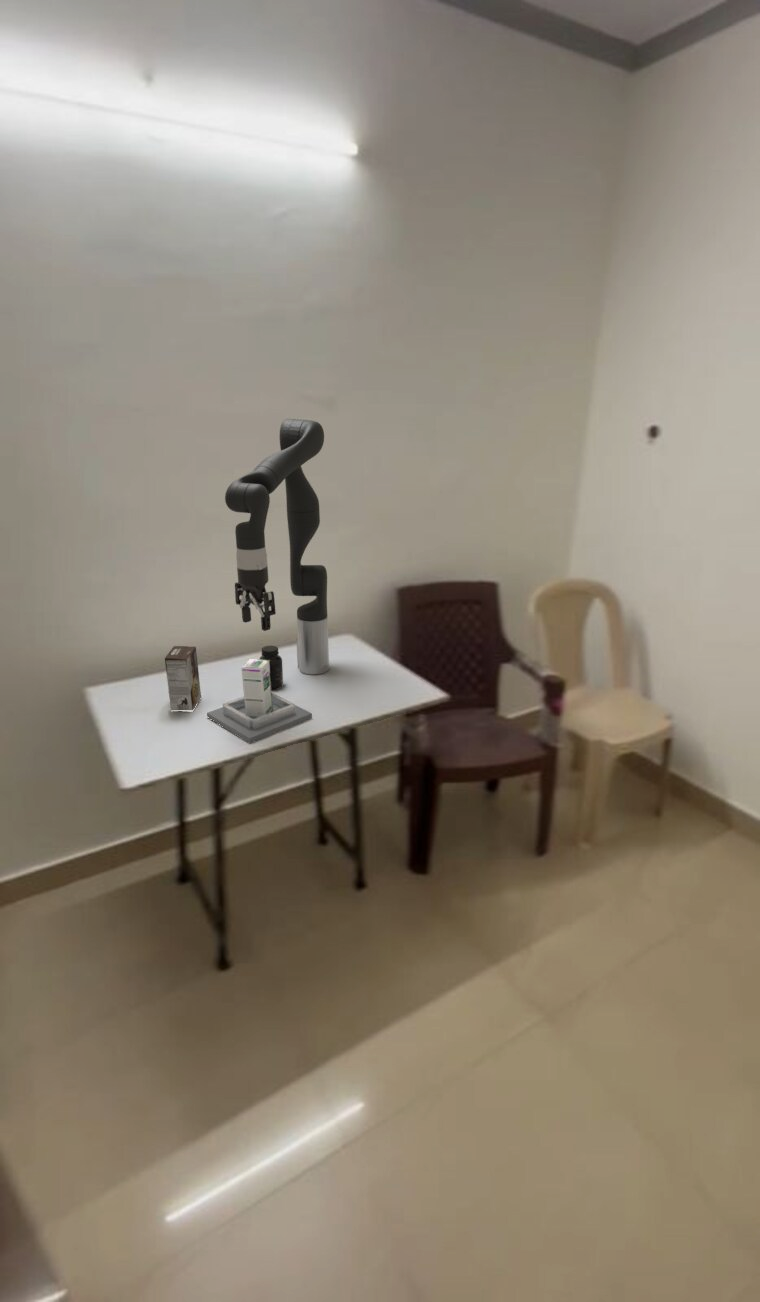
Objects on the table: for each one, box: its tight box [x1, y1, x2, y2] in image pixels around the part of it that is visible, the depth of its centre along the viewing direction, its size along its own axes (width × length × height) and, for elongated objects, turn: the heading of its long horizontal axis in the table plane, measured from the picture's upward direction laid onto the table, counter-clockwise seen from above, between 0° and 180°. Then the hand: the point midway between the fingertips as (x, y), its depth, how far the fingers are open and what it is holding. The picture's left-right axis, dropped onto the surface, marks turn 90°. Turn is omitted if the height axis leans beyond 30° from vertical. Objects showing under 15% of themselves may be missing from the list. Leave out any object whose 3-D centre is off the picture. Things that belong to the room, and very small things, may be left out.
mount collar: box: [222, 692, 296, 730], centre depth 195 cm, size 14×14×2 cm
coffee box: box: [164, 645, 202, 711], centre depth 200 cm, size 9×6×16 cm
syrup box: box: [241, 658, 273, 717], centre depth 193 cm, size 6×6×14 cm
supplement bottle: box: [259, 645, 284, 691], centre depth 213 cm, size 7×7×12 cm
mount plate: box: [206, 704, 313, 744], centre depth 196 cm, size 20×20×2 cm
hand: (256, 625), depth 187 cm, fingers open, 8 cm apart
